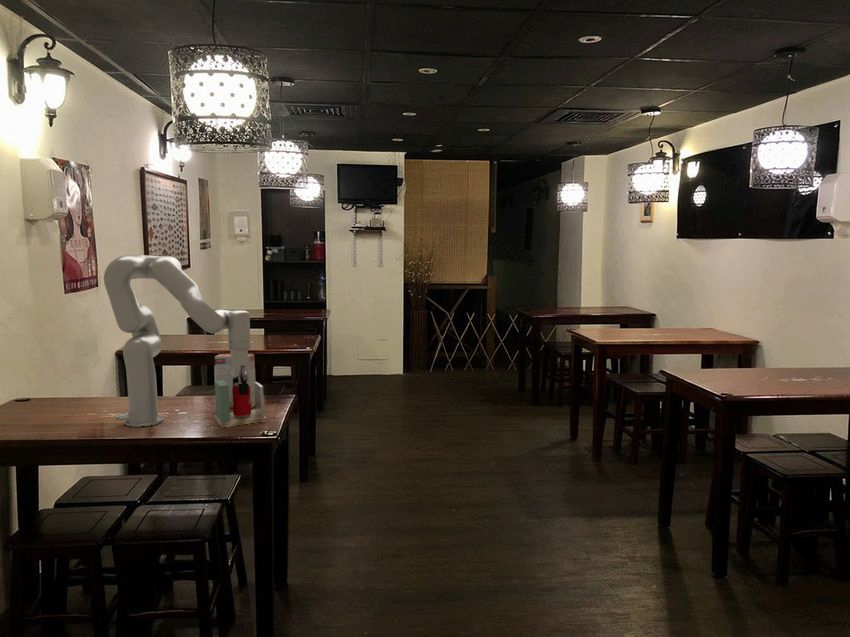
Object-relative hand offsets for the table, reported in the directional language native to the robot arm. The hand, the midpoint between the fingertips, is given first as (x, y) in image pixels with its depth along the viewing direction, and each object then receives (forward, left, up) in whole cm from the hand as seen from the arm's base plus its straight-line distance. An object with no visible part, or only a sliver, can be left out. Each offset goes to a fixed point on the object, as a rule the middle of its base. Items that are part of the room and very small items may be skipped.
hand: (240, 391), depth 236 cm
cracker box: (+2, +20, -11) cm, 23 cm away
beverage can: (0, 0, -9) cm, 9 cm away
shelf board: (-1, 0, -10) cm, 10 cm away
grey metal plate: (+7, 0, -9) cm, 11 cm away
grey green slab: (-6, 0, -9) cm, 11 cm away
